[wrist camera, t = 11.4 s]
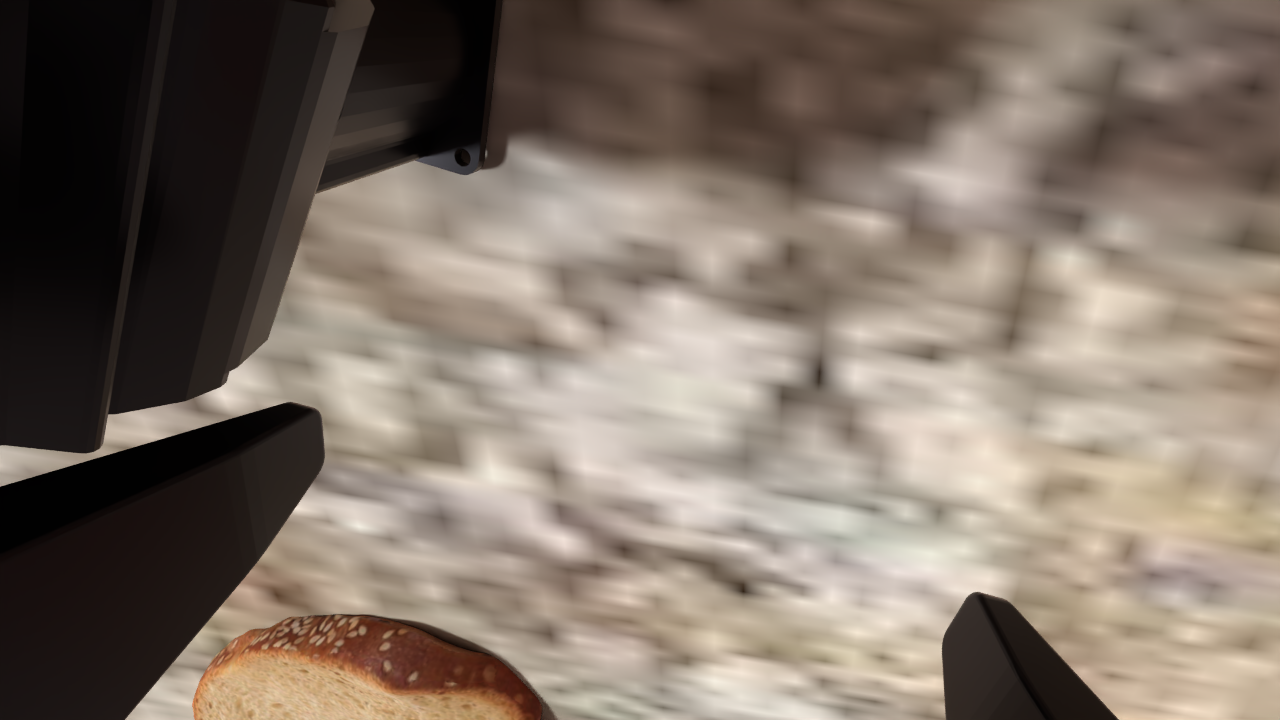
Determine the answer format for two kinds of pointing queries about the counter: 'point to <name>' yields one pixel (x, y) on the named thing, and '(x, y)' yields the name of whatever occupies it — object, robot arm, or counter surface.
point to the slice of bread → (357, 676)
